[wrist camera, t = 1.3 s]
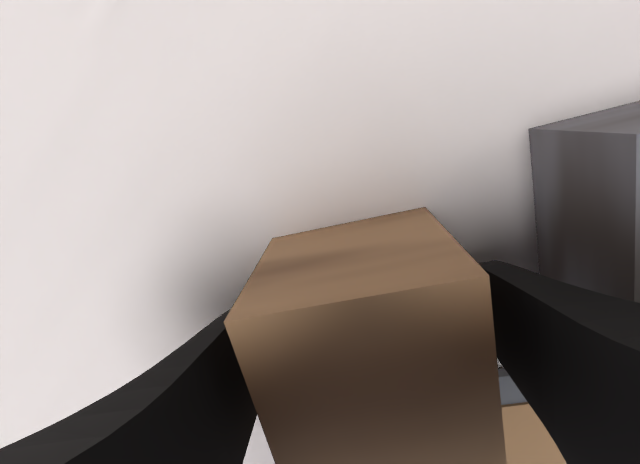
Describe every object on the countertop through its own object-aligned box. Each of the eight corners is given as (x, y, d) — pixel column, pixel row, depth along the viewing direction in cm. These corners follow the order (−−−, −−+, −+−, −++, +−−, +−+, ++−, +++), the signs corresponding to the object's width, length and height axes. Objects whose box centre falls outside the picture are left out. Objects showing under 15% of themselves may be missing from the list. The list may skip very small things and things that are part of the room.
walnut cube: (443, 339, 12) (508, 478, 7) (308, 360, 13) (288, 500, 8) (424, 206, 11) (489, 275, 6) (272, 237, 11) (223, 321, 7)
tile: (608, 477, 14) (618, 490, 13) (454, 492, 14) (458, 505, 14) (611, 352, 12) (623, 362, 11) (435, 377, 13) (439, 387, 12)
